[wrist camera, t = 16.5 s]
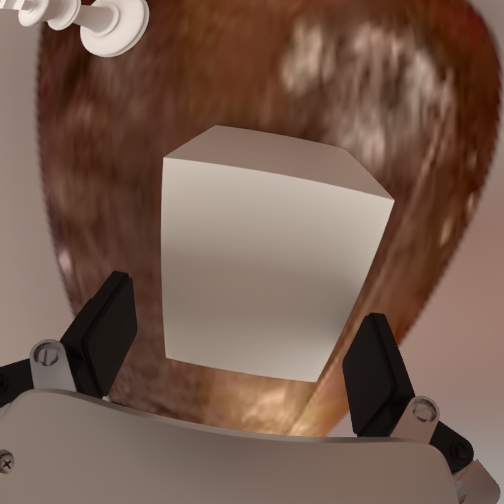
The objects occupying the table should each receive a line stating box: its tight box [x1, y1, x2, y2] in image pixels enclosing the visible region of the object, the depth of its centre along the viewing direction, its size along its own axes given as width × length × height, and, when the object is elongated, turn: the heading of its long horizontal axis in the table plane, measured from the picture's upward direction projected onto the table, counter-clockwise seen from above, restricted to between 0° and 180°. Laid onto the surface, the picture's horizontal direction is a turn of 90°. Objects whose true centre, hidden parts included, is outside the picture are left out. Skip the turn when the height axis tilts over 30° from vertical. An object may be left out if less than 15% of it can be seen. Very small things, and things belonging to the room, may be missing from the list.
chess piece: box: [0, 0, 149, 57], centre depth 9 cm, size 5×5×10 cm
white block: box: [161, 125, 395, 382], centre depth 16 cm, size 10×8×9 cm
